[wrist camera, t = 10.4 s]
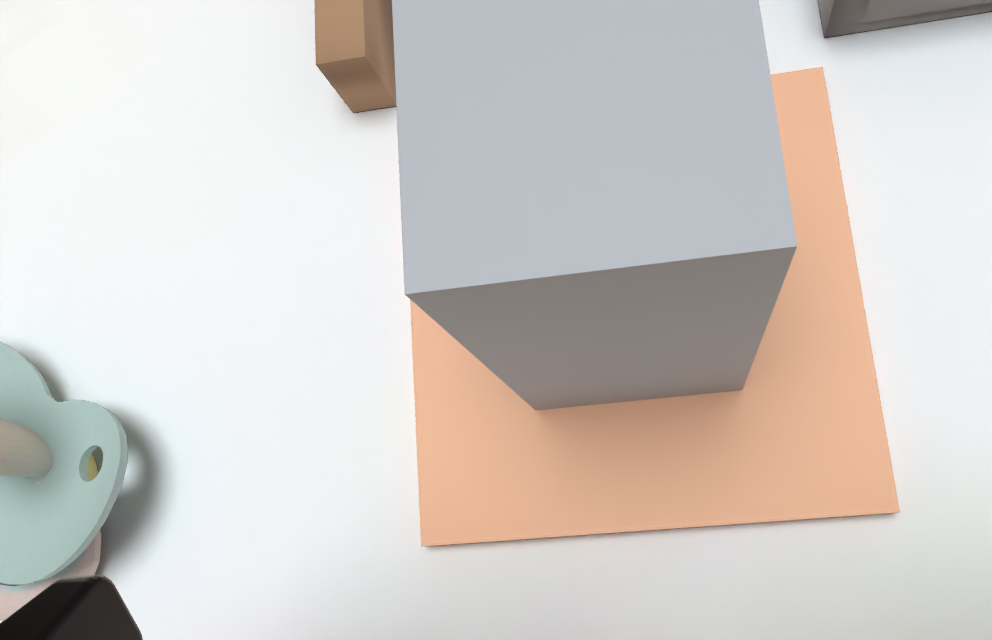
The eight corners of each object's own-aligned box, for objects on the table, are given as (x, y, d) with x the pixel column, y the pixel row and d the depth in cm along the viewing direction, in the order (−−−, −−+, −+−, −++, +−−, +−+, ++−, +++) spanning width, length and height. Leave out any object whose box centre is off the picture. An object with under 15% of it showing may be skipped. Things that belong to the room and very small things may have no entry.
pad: (893, 512, 19) (899, 512, 18) (427, 546, 21) (421, 546, 20) (819, 77, 21) (822, 66, 21) (408, 140, 23) (402, 131, 23)
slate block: (742, 390, 20) (797, 246, 10) (535, 410, 20) (405, 293, 11) (715, 194, 21) (742, -102, 11) (520, 220, 22) (390, -36, 12)
